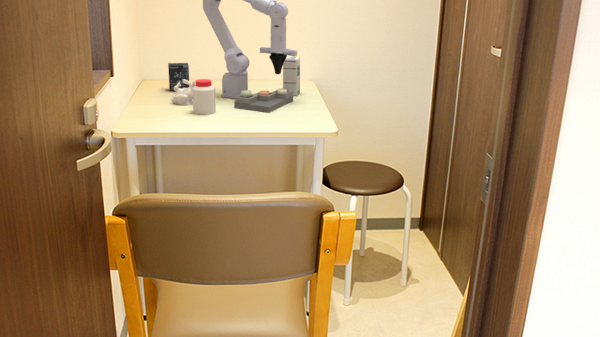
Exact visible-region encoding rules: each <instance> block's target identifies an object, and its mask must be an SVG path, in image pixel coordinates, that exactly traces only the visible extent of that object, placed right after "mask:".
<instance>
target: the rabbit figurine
mask: <svg viewBox="0 0 600 337" xmlns="http://www.w3.org/2000/svg"><path fill="white" fill-rule="evenodd" d="M195 81H196V80H193V81H190V80H189V81H188V80H186V79H183V83H185V84H188V85H189V87H188V88H182V89H179V88H178V87H179V86H181V84H180V82H178V84H177V86H175V87H174V90H175V91H174V92H175V93H174V94H173V95H172V97H171V98H170V101H171V103H173V104H175V105H178V106H190V105H193V91H192V88H193V87H194V86H195V85H196V83H195Z"/></svg>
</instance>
